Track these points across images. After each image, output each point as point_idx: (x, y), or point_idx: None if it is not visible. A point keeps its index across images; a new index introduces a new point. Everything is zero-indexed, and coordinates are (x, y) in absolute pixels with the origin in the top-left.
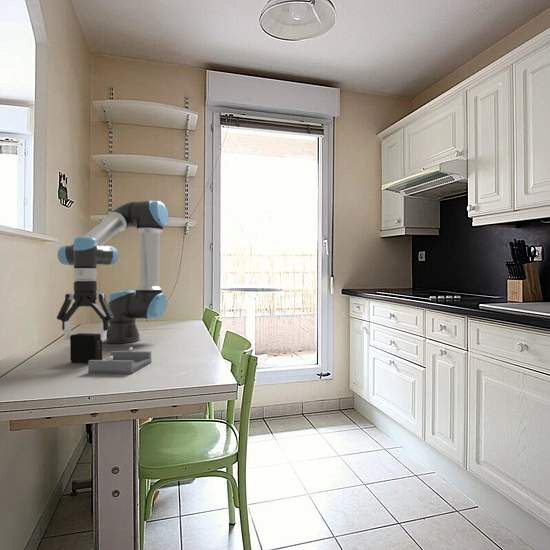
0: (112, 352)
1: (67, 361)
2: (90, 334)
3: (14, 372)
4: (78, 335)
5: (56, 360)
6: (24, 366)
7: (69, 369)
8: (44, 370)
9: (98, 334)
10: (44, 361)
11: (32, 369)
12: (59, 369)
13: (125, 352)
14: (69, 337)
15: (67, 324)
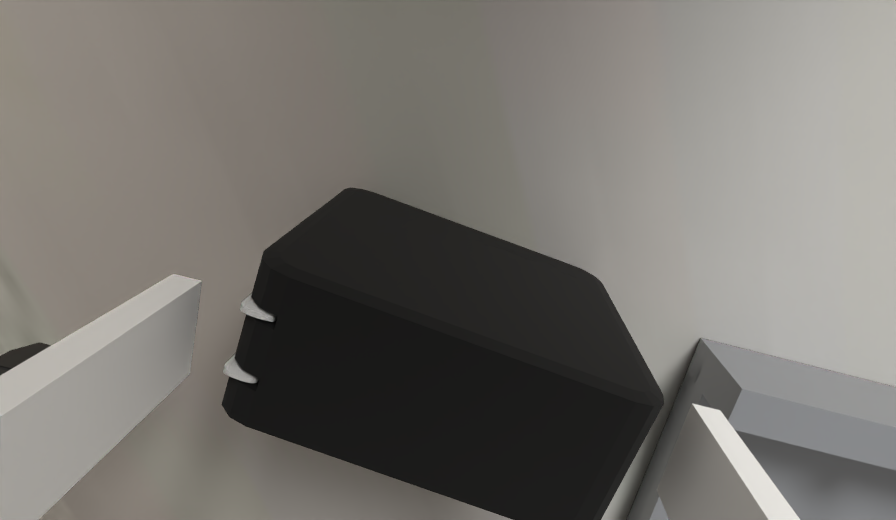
0: (744, 428)
1: (273, 223)
2: (510, 453)
3: (59, 512)
4: (345, 458)
5: (148, 156)
6: (8, 346)
7: (407, 509)
8: (237, 500)
9: (627, 450)
10: (59, 181)
11: (132, 454)
12: (332, 494)
13: (882, 465)
14: (188, 317)
15: (48, 481)
